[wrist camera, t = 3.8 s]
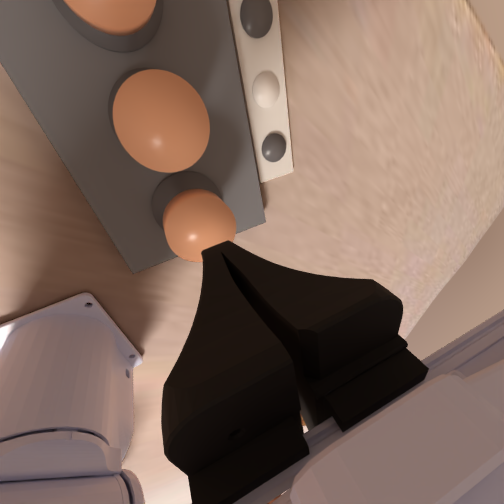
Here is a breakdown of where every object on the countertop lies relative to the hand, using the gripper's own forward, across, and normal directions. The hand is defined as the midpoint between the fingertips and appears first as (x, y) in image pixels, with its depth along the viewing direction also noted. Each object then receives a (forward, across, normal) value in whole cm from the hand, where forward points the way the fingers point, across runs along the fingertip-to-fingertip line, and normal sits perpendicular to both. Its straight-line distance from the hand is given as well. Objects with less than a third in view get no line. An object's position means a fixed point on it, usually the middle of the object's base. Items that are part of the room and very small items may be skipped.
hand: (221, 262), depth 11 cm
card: (+9, -8, -6) cm, 13 cm away
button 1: (+6, 0, 0) cm, 6 cm away
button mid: (+6, 0, -6) cm, 8 cm away
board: (+9, 0, -6) cm, 11 cm away
